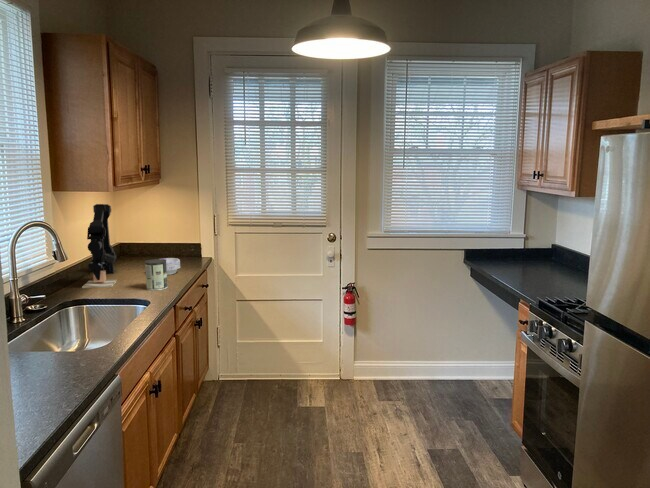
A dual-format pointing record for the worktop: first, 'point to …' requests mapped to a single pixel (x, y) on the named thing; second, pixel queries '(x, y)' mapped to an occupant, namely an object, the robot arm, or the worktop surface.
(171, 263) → the paper bowls
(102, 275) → the terracotta cube
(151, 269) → the coffee can
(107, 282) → the striped cloth
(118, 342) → the worktop surface
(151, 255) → the worktop surface
